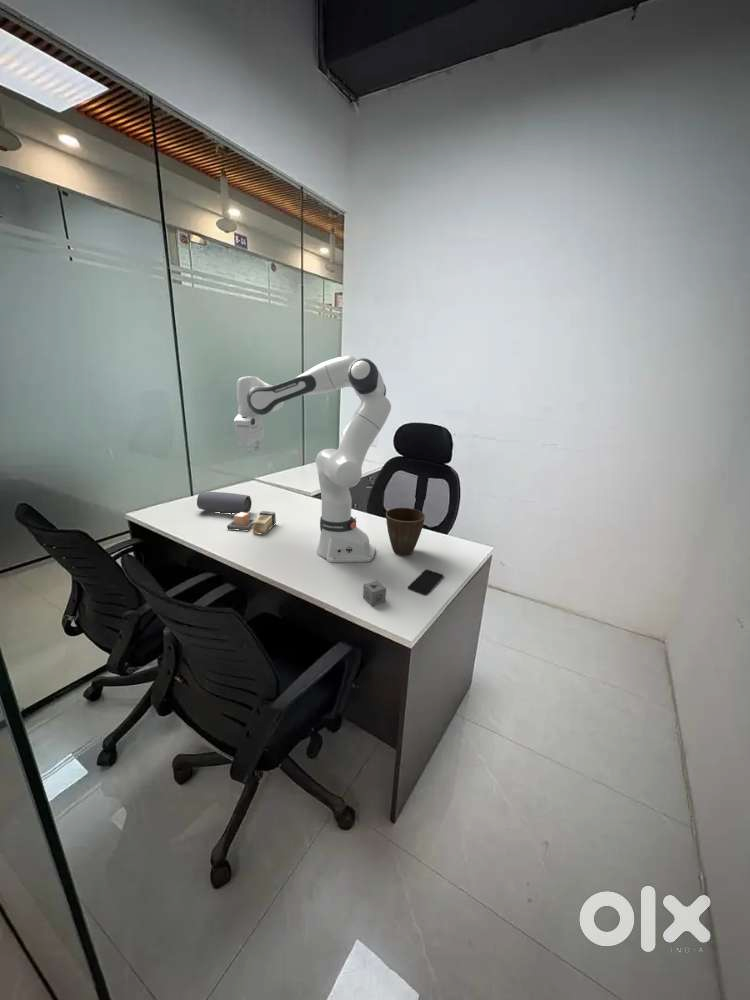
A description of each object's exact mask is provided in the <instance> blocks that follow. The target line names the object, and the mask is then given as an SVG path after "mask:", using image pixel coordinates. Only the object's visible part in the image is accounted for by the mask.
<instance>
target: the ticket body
mask: <svg viewBox="0 0 750 1000" xmlns="http://www.w3.org/2000/svg"><path fill="white" fill-rule="evenodd" d="M275 523H276V524H277V520H276V512H275V511H268V510H267V511H266V510H264V511H263V510H261V511H260V512H259V516H258V517H257V518H256V519H255V521H254V522H253V527H252V534H253V533H261V534H260V535H263V534H265V533H266V532H267V531H268V530H269V531H270V529H271V528H272V527H273V526H272V525H274V524H275ZM276 524H275V525H276ZM271 526H272V527H271ZM270 527H271V528H270ZM269 528H270V529H269ZM269 531H268V532H269ZM268 532H267V533H268ZM267 533H266V534H267ZM266 534H265V535H266Z"/></svg>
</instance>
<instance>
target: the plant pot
mask: <svg viewBox="0 0 750 1000" xmlns="http://www.w3.org/2000/svg"><path fill="white" fill-rule="evenodd" d="M385 518H386V520H385V521H386V526H387V534H388V537H389V542H390V545H391V549H392V551H393V553H394V555H397V556H401V557H406V556H410V555H412V554H413V551H414V550H415V548H416V545H417V543H418V541H419V538H420V536H421V532H422V530H423V526H424V523H425V518H426V515H425V514H424V512H423V511H421V510H419V509H415V508H410V507H395V508H394V507H393V508H390V509H388V510H387V511H386V512H385Z"/></svg>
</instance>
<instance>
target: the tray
mask: <svg viewBox="0 0 750 1000" xmlns="http://www.w3.org/2000/svg"><path fill="white" fill-rule="evenodd" d="M255 520H256V519H253V518H252V519H251V518H249V522H250V524H249V525H247V526H235V524H234V519H233V520H232V521H230V523H228V524H227V526H226V527H227V528H228V529H239V530H249V529H250V528H251V527H252V526H253V522H254V521H255ZM227 528H226V529H227ZM252 528H253V527H252ZM252 528H251V529H252ZM251 529H250V530H251ZM250 530H249V531H250Z"/></svg>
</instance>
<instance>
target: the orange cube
mask: <svg viewBox="0 0 750 1000" xmlns="http://www.w3.org/2000/svg"><path fill="white" fill-rule="evenodd" d="M249 519H250V513H249V512H248V513H244V512H240V513H236V514H235V515H233V520H234V524H235V526H247V525H249V524H250V522H249Z"/></svg>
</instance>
